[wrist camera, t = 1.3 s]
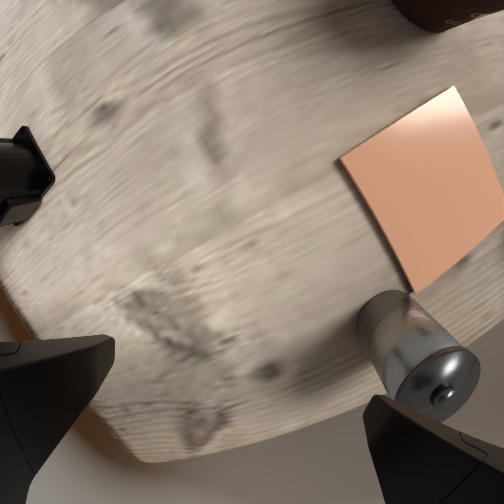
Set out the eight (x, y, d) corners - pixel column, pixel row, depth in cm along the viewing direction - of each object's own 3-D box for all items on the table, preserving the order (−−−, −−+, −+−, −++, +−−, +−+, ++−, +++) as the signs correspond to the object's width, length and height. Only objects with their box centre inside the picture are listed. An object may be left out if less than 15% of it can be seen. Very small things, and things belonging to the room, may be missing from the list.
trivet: (338, 158, 20) (340, 158, 19) (449, 87, 18) (453, 85, 17) (412, 291, 22) (415, 294, 22) (505, 212, 20) (509, 213, 20)
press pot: (342, 316, 23) (387, 405, 13) (402, 273, 22) (479, 338, 12) (371, 362, 24) (415, 450, 14) (426, 325, 23) (490, 396, 13)
